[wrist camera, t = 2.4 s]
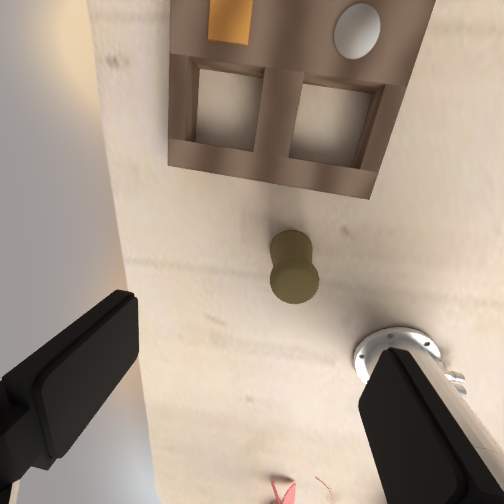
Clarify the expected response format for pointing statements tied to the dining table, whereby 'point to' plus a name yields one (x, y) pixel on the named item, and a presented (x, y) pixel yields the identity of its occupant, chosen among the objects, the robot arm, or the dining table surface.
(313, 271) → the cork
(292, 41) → the socket board
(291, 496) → the figurine
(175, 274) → the dining table surface
